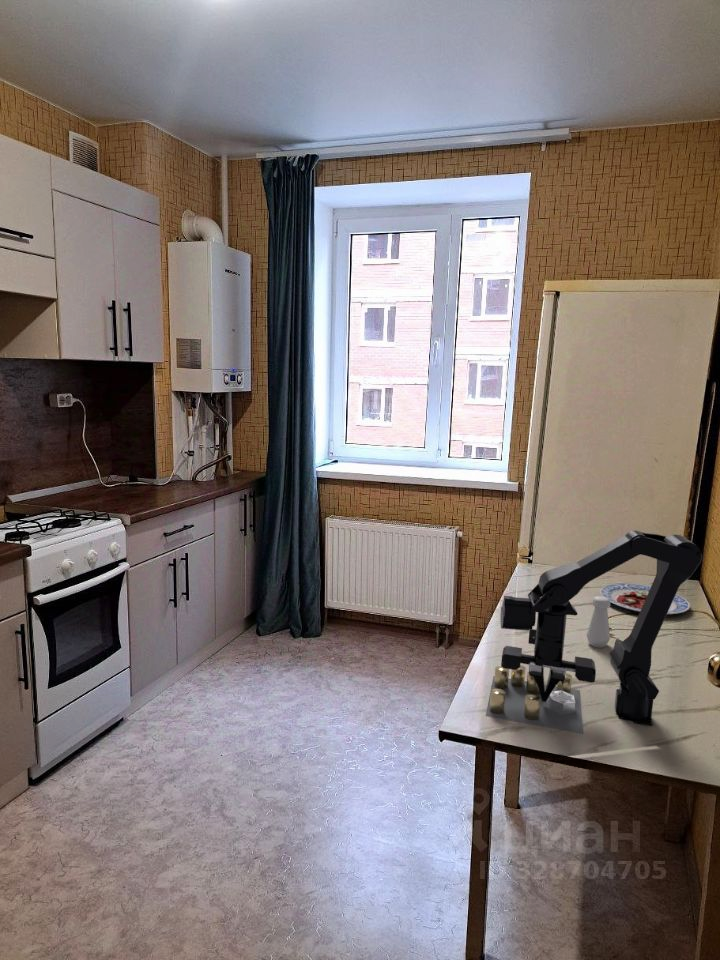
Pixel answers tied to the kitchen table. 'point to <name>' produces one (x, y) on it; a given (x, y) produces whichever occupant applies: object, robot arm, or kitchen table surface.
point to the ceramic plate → (638, 597)
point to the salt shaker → (599, 623)
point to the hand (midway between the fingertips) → (544, 700)
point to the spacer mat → (546, 716)
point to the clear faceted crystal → (561, 702)
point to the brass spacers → (518, 681)
